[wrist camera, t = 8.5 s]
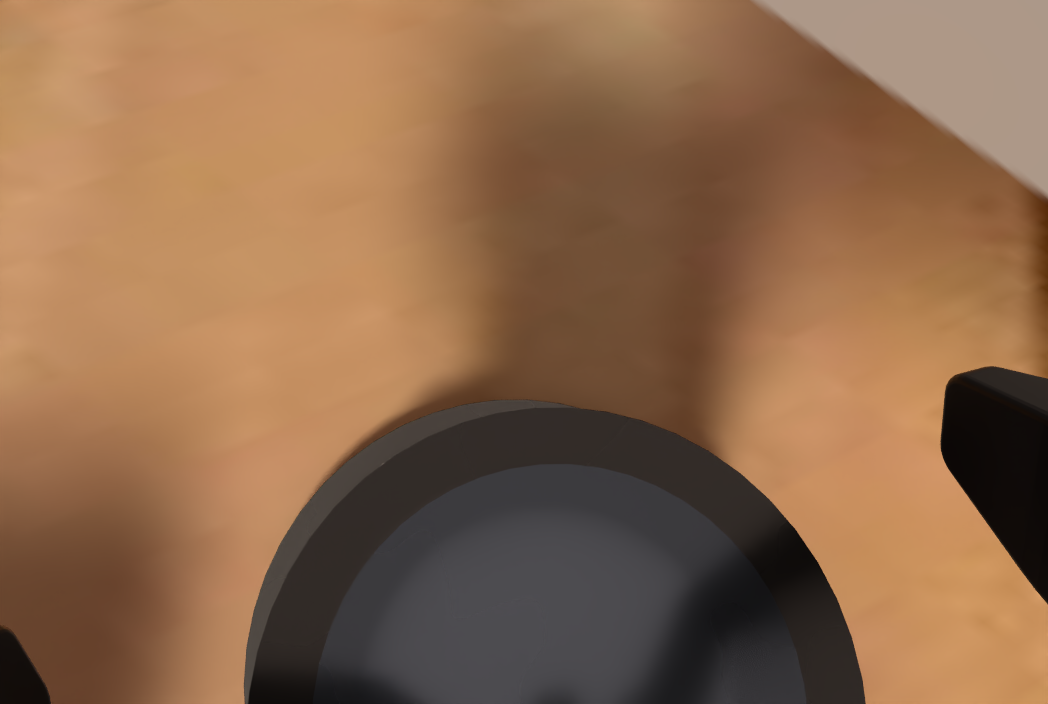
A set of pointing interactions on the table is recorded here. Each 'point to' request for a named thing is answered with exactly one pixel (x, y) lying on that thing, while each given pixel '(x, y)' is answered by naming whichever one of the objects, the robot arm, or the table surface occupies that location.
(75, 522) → the table surface
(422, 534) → the lens
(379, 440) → the mount ring
